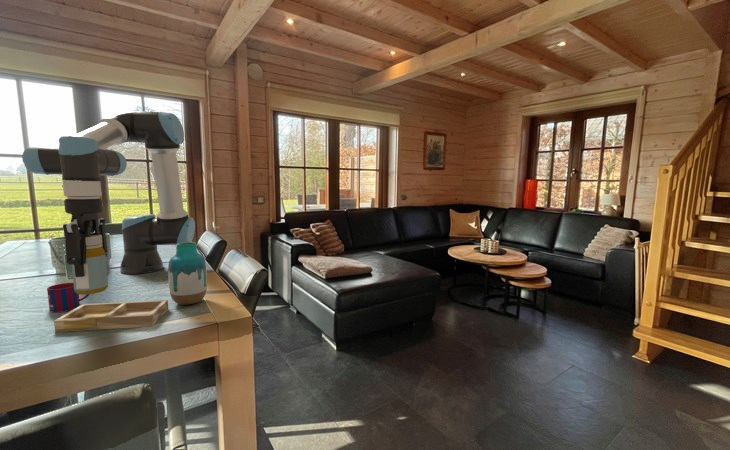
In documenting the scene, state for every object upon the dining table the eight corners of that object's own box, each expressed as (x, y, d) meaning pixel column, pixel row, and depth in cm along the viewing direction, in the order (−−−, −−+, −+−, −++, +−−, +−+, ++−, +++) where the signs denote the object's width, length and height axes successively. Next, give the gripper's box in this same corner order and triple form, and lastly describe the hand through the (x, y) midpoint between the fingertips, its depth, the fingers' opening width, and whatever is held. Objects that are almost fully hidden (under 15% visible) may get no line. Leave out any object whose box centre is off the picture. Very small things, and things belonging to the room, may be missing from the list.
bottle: (89, 296, 85) (84, 238, 83) (67, 294, 86) (61, 237, 84) (114, 288, 91) (110, 234, 90) (94, 286, 93) (89, 233, 91)
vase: (215, 301, 106) (212, 242, 104) (182, 312, 97) (179, 248, 95) (195, 294, 112) (192, 239, 109) (162, 304, 103) (159, 244, 100)
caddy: (83, 314, 94) (82, 304, 94) (168, 309, 99) (167, 299, 98) (54, 332, 83) (53, 321, 83) (151, 326, 87) (150, 315, 87)
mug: (46, 308, 98) (44, 286, 97) (89, 299, 106) (87, 278, 105) (53, 314, 94) (50, 291, 93) (96, 304, 102) (94, 282, 101)
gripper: (88, 196, 94) (95, 275, 97) (38, 199, 76) (49, 297, 79) (118, 196, 95) (124, 274, 98) (76, 199, 77) (85, 295, 80)
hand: (91, 284), depth 89 cm, fingers closed on bottle, 6 cm apart
